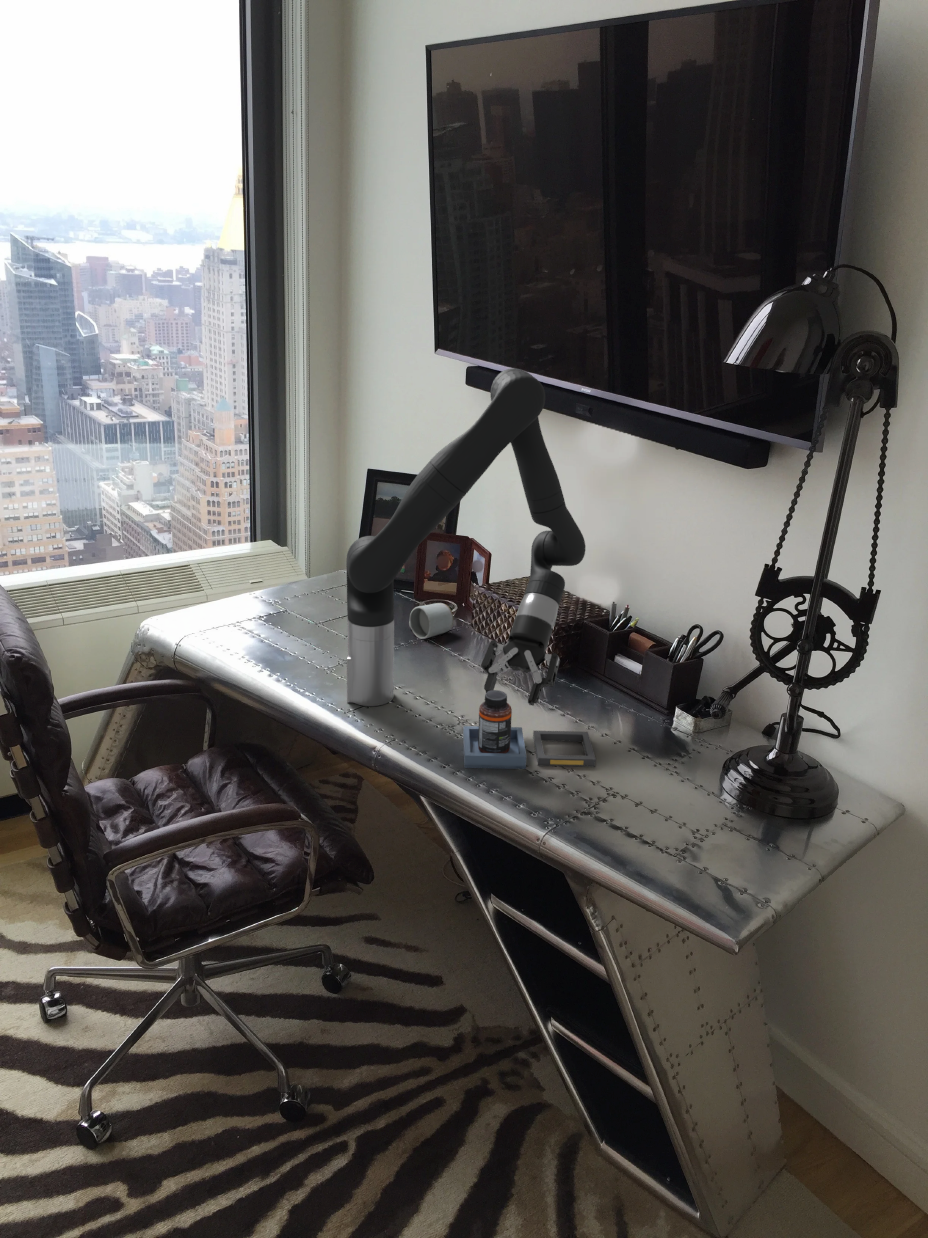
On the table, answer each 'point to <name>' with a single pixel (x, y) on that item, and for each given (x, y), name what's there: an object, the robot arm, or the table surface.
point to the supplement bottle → (494, 723)
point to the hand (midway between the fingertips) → (509, 699)
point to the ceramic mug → (431, 620)
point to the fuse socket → (563, 759)
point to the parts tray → (494, 760)
